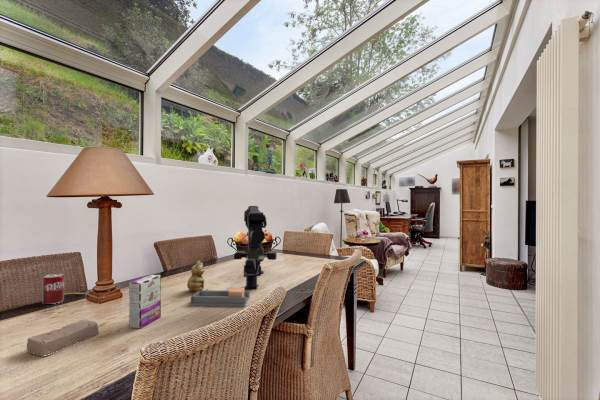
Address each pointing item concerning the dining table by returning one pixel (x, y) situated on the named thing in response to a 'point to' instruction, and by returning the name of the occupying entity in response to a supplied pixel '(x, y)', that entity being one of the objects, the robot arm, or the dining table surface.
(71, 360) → the dining table surface
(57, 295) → the soda can
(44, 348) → the brick
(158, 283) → the candy bar box
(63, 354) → the dining table surface
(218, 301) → the grey tray
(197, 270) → the decorative figurine
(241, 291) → the block
